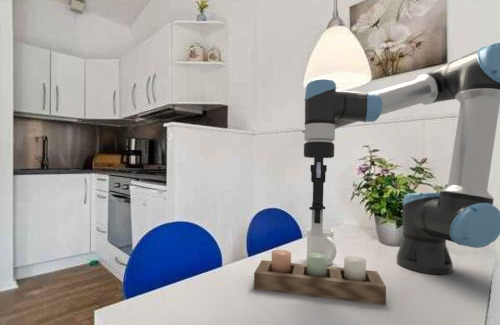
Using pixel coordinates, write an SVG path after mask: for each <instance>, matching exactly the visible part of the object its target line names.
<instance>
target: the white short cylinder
mask: <svg viewBox="0 0 500 325" xmlns="http://www.w3.org/2000/svg"><path fill="white" fill-rule="evenodd" d="M343 268H344V277H345V278H346V279H348V280H355V281H365V280H366V270H367V260H366V259H365V258H363V257H360V256H353V255H348V256H344V257H343Z"/></svg>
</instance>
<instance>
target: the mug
mask: <svg viewBox="0 0 500 325" xmlns="http://www.w3.org/2000/svg"><path fill="white" fill-rule="evenodd" d="M306 231H307V232H306V255H307V254H309V253H320V254H324V255H326V256H327V266H330V265H332V264H333V263H334V260H335V258H336V256H337V247H336V244H335V242H334V230H333V229H331V228H328V227H323V232H322V237H320V236H311V227H308V228H307V229H306Z"/></svg>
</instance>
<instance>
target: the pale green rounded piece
mask: <svg viewBox="0 0 500 325" xmlns="http://www.w3.org/2000/svg"><path fill="white" fill-rule="evenodd" d="M306 265H307V274H308V275H310V276H317V277H325V276H327V267H328V265H327V256H326V255H324V254H320V253H309V254H307V253H306Z"/></svg>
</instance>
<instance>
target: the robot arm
mask: <svg viewBox="0 0 500 325" xmlns="http://www.w3.org/2000/svg"><path fill="white" fill-rule="evenodd" d="M336 84H337V83H336V81H335V80H333V79H329V78H317V79H313V80H310V81H309V82H308V83H307V84H306V87H305V93H304V94H305V95H304V96H305V97H304V128H303V129H302V130H301V133H303V134H304V137H303V140H304V141H305V143H304V144H303V157H304V158H309V159H311V158H312V159H313V164H310V174H311V175H310V176H311V177H310V181H311V183H312V201H311V203H312V204H311V206H309V207H308V208H309V210H311V227H310V228H311V236H320V237H322V232H323V228H324V225H323V223H324V222H323V221H324V210H326V206H324V183H325V182H326V173H327V170H328V169H327V165H326V164H324V159H332V158H334V157H335V143H334V141H335V140H336V139H335V138H336V130H337V129H339V128H341V127H345V126H348V125H351V124H354V123H357V122H360V123H374V122H376V121H377V120H379V118H380V117H381V116H382V115H385V114H389V113H392V112H396V111H399V110H403V109H405V108H410V107H412V106H416V105H420V104H422V105H430V104H434V103H440V102H444V101H453V100H456V101H457V102H458V103H460V105H459V110H458V116H457V124H456V130H455V137H454V144H453V151H452V156H451V164H450V170H449V175H448V176H449V177H448V183H447V186H444V187H443V188H442V189H440V191H439V192H414V193H407V194H405V195H404V197H403V202H402V241H401V243H400V245H399V249H398V251H397V253H396V264H398V265H399V266H401V267H403V268H406V269H409V270H411V271H414V272H420V273H425V274H430V275H431V274H432V275H448V274H452V273H453V268H454V267H453V266H454V263H453V260H452V257H451V255H450V252H449V249H448V247H447V241H449V242H452V243H455V244H456V245H460V246H464V247H469V248H474V249H478V248H479V249H481V248H484V247H485V248H486V247H488V246H490V244H492V243H494V242H495V241H496V240H497V239H499V238H498V237H499V236H500V209H499V208H498V207H496V206H495V205H494V200H495V199H494V197H493V196H492V195H491V194H490V193H489V191H488V186H489V180H490V175H491V174H490V173H491V166H492V160H493V153H494V145H495V140H496V139H495V138H496V133H497V125H498V120H499V113H500V112H499V111H500V42H496V43H491V44H489V45H487V46H483V47H481V48H478V50H475V51H472V52H471V53H468V54H466V55H463V56H462V57H459V58H457V59H455V60H452V61H450V62H448V63H445V64H444V65H442V66H440V67H438V68H436V69H434V70H432V71H429V72H427V73H424V74H420V75H419V76H417V78H416V79H415V80H411V81H410V80H409V81H408V82H407V81H406V82H404V83H400V84H397V85H393V86H391V87H386V88H383V89H380V90H379V89H378V90H376V91H371V92H368V91H352V90H350V91H349V90H339V89H337V85H336Z"/></svg>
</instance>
